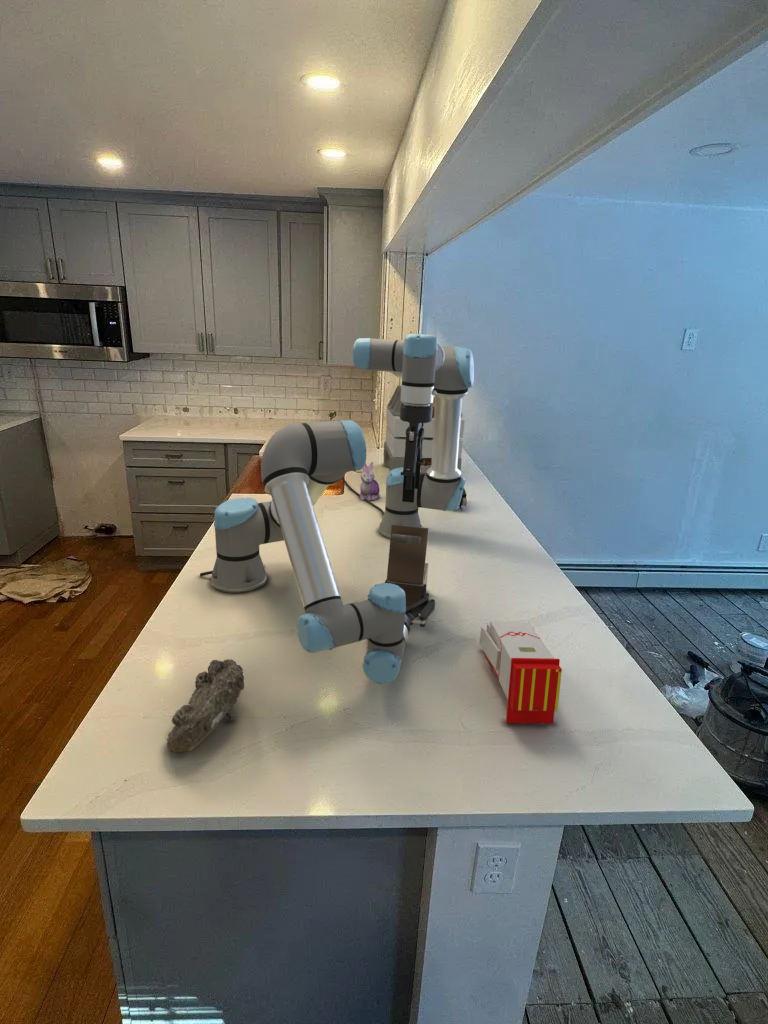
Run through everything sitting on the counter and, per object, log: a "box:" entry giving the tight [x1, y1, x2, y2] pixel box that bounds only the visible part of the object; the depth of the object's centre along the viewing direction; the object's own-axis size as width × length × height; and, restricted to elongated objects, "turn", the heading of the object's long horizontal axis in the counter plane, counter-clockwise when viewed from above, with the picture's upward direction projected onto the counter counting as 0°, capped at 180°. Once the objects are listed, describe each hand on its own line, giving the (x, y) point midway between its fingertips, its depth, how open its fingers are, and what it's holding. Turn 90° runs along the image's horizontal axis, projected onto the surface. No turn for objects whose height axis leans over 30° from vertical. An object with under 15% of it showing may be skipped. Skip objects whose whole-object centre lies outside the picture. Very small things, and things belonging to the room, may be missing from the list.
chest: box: [387, 562, 429, 617], centre depth 153 cm, size 14×9×9 cm
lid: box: [386, 525, 430, 584], centre depth 140 cm, size 14×9×9 cm
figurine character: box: [458, 488, 468, 511], centre depth 230 cm, size 7×8×15 cm
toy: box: [478, 620, 563, 725], centre depth 121 cm, size 12×13×30 cm
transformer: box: [383, 384, 465, 472], centre depth 268 cm, size 34×33×41 cm
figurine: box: [359, 461, 381, 501], centre depth 233 cm, size 9×10×15 cm
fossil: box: [166, 658, 245, 754], centre depth 106 cm, size 22×10×15 cm
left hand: (405, 586), depth 148 cm, fingers closed on chest, 9 cm apart
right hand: (411, 494), depth 139 cm, fingers open, 10 cm apart
